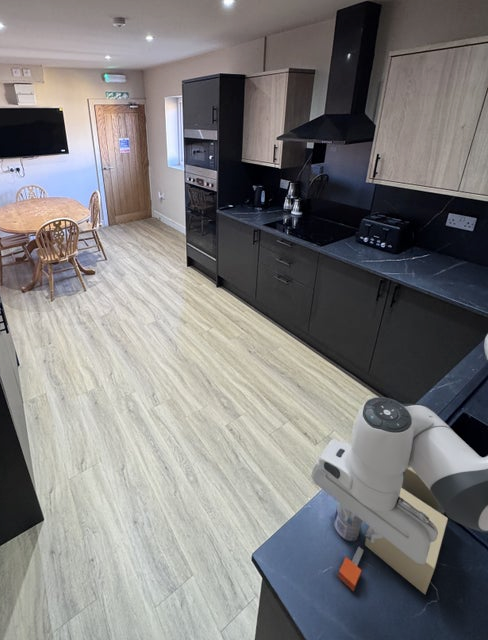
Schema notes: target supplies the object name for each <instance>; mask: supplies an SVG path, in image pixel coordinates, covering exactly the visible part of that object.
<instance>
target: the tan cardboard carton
mask: <svg viewBox="0 0 488 640" xmlns="http://www.w3.org/2000/svg"><path fill="white" fill-rule="evenodd" d="M399 496H400V497H401V498H402V499H404V500H405V501H406V502H408V503H409V504H411V505H412V506H413V507H414V508H416V509H417V510H419V511H420V512H423V513H424V514H425V515H427V516H428V517H429V518H430V519H429V520H430V521H431V522H432V523H433V524H434V525H435V526H436V528H437V529H438V536H437V539H436V540H435V541H434V542H431V543H430V548H429V552H428V556H427V559H426V562H425V564H418V563H416V562H415V561H413V560H412V559H411V558H410V557H408V556H407V555H406V554H405V553H403V552H402V551H401V550H399V549H398V548H397V547H396V546H394V545H393V544H392V543H390V542H389V541H388V540H387V539H385V538H384V537H382V538H379V539H375V541H374V543H372V542H371V541H370V540H368V539H367V538H366V537H365V542H364V546H365V547H366V548H367V549H369V550H370V551H371V552H373V553H374V554H375V555H376V556H377V557H379V558H380V559H381V560H382V561H383V562H385V564H387V565H388V566H390V567H391V568H392V569H393V570H394V571H395V572H397V573H398V574H399V575H400V576H402V578H404V579H405V580H407V581H408V582H409V583H410V584H411V585H412V586H414V587H415V588H416V589H417V590H419V591H420V592H421V593H422V594H424V595H426V594H427V592H428V588H429V585H430V583H431V580H432V577H433V575H434V572H435V569H436V565H437V563H438V558H439V555H440V552H441V551H440V550H441V547H442V544H443V543H442V542H443V539H444V536H445V532H446V528H447V524H448V520H449V519H448V518H449V517H448V516H445V515H444V514H443V513H439V512H438V511H436V509H435V508H433V507H432V506H430V505H429V504H427V503H426V502H424V501H423V500H421V499H420V498H418V497H417V496H415V495H414V494H412V493H411V492H409V491H408V490H406V489H405V488H403V487H402V488H401V491H400V495H399Z"/></svg>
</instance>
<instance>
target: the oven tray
mask: <svg viewBox="0 0 488 640" xmlns="http://www.w3.org/2000/svg"><path fill="white" fill-rule="evenodd" d="M402 488H403V489H404V490H406V491H407V492H409V493H410V494H412V495H413V496H415V497H416V498H418V499H419V500H421V501H422V502H424V503H426V504H427V505H429V506H430V507H432V508H433V509H435V510H436V511H438V512H439V513H441V514H442V515H444V514H445V512H444V510H443V509H442V508H441V506H440V505H439V503H438V502H437V500H436V499H435V498H434V496H433V495H432V493H431V492H430V489H429V488H428V487H427V486H426V485H425V483H424V482H423V481H422V480H421V478H420V477H419V476H418V475H417V474H416V472H415V471H414V470H413V469H412V467H409V468H406V470H405V471H404V472H403V484H402Z"/></svg>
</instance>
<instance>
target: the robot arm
mask: <svg viewBox="0 0 488 640" xmlns="http://www.w3.org/2000/svg"><path fill="white" fill-rule="evenodd" d="M483 350H484V355H485V358H486V360H487V361H488V333H487V334H486V336H485V337H484V343H483ZM409 467H412V469H413V470H414V471H415V472H416V474H417V475H418V476H419V477H420V478H421V480H422V481H423V482H424V483H425V485H426V486H427V487H428V488H429V489H430V492H431V493H432V495H433V496H434V498H435V499H436V500H437V502H438V503H439V505H440V506H441V508H442V509H443V510H444V514H445V515H446V517H447V518H449V519H450V520H452V521H454V522H455V523H457V524H459V525H461V526H463V527H466V528H468V529H472V530H474V531H478V532H481V533H488V455H486V456H484V457H482V456H480V455H479V454H478V453H477V452H476V451H475V450H474V449H473V448H472V447H470V445H469V444H467V443H466V441H464V440H463V439H462V438H461V437H460V436H459V435H458V434H457V433H456V432H455V431H454V429H452V428H451V427H450V426H449V425H448V424H447V423H446V422H445V421H444V420H443V419H442V418H441V417H440V416H438V415H437V414H436V413H435V412H434V411H433V410H431V409H430V408H429V407H428V406H426V405H422V404H419V403H400V402H398V401H397V400H394V399H392V398H389V397H382V396H378V397H371V398H369V399H368V400H366V401H365V402H364V403H362V405H361V407H360V409H359V411H358V412H357V414H356V417H355V419H354V423H353V426H352V431H351V436H350V443H347V442H344V441H342V440H339V439H336V438H333V439H331V440H330V441H329V442H328V443H327V444H326V446H325V447H324V448H323V450H322V451H321V453H320V455H319V457H318V459H317V460H316V461H315V463H314V465H313V467H312V471H311V475H310V477H311V480H312V481H313V483H314V484H315V485H316V486H318V487H319V488H320V489H321V490H323V491H324V492H325V493H326V494H327V495H329V496H330V497H332V498H333V499H334V500H336V501H337V503H338V502H339V503H341V507H342V509H343V512H344V514H345V519H344V520H345V521H346V522H348V523H349V524H350V525H351V526H352V525H353V523H354V521H355V517H356V516H357V517H358V518H360V519H361V520H362V522H364V523H365V524H366V525H367V526H368V528H367V530H366V532H365V539H366V538H367V539H368V540H370V541H371V542H372V543H374V541H375V539H379V538H382V537H384V538H385V539H387V540H388V541H389V542H390V543H392V544H393V545H394V546H396V547H397V548H398V549H399V550H401V551H402V552H403V553H405V554H406V555H407V556H408V557H410V558H411V559H412V560H413V561H415V562H416V563H418V564H425V562H426V559H427V556H428V552H429V548H430V543H431V542H434V541H435V540H436V539H437V536H438V529H437V528H436V526H435V525H434V524H433V523H432V522H431V521H430V520H429V519H430V518H429V517H428V516H427V515H425V514H424V513H423V512H420V511H419V510H417V509H416V508H414V507H413V506H412V505H411V504H409V503H408V502H406V501H405V500H404V499H402V498H401V497H400V496H399V495H400V491H401V488H403V487H402V484H403V472H404V471H405V470H406V468H409Z"/></svg>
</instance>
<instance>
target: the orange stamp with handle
mask: <svg viewBox="0 0 488 640" xmlns="http://www.w3.org/2000/svg"><path fill="white" fill-rule="evenodd" d="M364 552H365V551H364V549H363V548H361V547H360V546H357V548H356V551H355V553H354V554H353V557H352V559H350V558H349V557H348V556H345V558H344V559H343V563H342V565H341V567H340V568H339V571H338V575H337V578H338V579H340V580H341V581H342V582H343V583H344V584H345V585H346V586H347V587H348V588H349V589H350V590H351V591H352V592H355V589H356V587H357V584H358V583H359V580H360V578H361V575H362V569H361V568H360V567H359V564H360V562H361V560H362V558H363V555H364Z"/></svg>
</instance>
